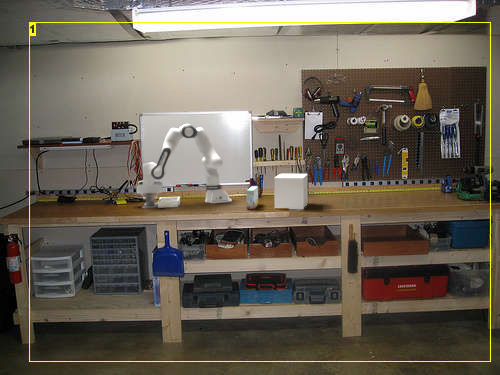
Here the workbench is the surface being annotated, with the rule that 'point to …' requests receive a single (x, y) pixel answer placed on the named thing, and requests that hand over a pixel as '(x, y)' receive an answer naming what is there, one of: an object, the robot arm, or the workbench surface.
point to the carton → (168, 202)
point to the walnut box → (150, 199)
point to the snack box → (252, 197)
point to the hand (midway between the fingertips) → (150, 198)
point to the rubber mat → (150, 206)
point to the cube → (291, 191)
